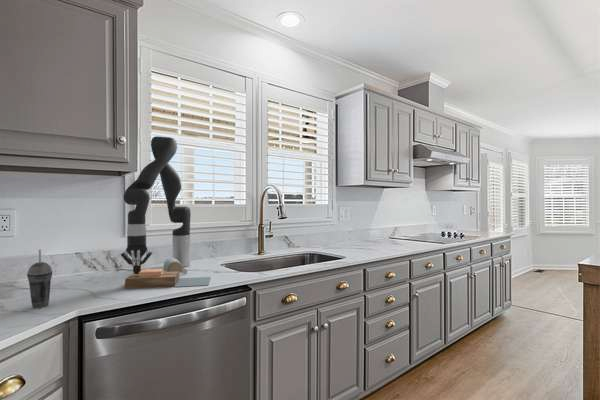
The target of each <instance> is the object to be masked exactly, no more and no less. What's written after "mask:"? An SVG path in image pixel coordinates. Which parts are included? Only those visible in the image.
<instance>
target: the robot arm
mask: <svg viewBox="0 0 600 400" xmlns="http://www.w3.org/2000/svg"><path fill="white" fill-rule="evenodd" d="M150 149H151V152H152V154H153V155H152V156H153V158H154V160H153V161H150V163H148V164H147V165H146V166H144V168H143V169H142V170H141V171H140V173H139V175H138V177H137V178H136V180H135V181H133V182H132V183H130V185H129V186H128V187H127V188H126V189H125V191H124V193H123V201H124V203H125V204H127V205H130V206H132V205H133V206H135V208H134V209H132V210H130V211H128V213H127V229H126V239H127V240H126V242H127V243H126V244H127V245H126V249H125V251H123V252H121V254H120V256H121V257H122V259H124V260H125V262H126V263H127V264H128V265H132V274H133V273H135V274H139V272H140V271H141V270H142V265H144V264H145V263H146V262H147V261H148V260H149V258H151V256H152V255H153V252H152V251H150V250H148V247H147V225H146V214H147V211H148V207H149V203H150V193H149V191H148V190H150V189H151V188H152V187H153V186H154V184H155V182H156V180H157V178H158V176H160V182H161V185H162V189H163V191H164V196H165V200H166V205H167V210H168V211H167V212H168V216H169V220H170V222H171V223H173V224H182V225H181V226H180V227H178V228H176V229H173V230H172V258H175V259H177V260H178V261H179V262H180V263H181V265H182V268H185V267H189V266H190V265H191V215H192V214H191V208H190V207H189V206H186V205H185V206H180V205H179V206H178V205H176V200H177V198H178V196H179V194H180V193H181V190H182V182H181V177H180V175H179V173H178V171H176V169H175V168H174V167H173V166H172V165H171V164H170V163H169V162H170V161H171V160H172V159H173V157H174V156H175V154H176V153H177V151H178V142H177V140H176V139H175V138H173V137H169V136H159V135H158V136H154V137H152V138H151V142H150ZM144 255H145V257H144ZM143 257H144V258H143ZM142 258H143V259H142Z"/></svg>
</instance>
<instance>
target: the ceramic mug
mask: <svg viewBox="0 0 600 400" xmlns="http://www.w3.org/2000/svg"><path fill="white" fill-rule="evenodd" d="M163 269H164V272H171V271H179V274H181V273H183V274H188V269H187V268H185V267H182V265H181V263H180V262H179V261H178V260H177V259H175V258H173V257H170V258H168V259H166V260H165V261H164V262H163Z"/></svg>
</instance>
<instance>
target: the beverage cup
mask: <svg viewBox="0 0 600 400" xmlns="http://www.w3.org/2000/svg"><path fill="white" fill-rule="evenodd" d="M41 254H42V250H41V249H38V262H35V263H34V264H32V265H31V266H30V267H29V268H28V270H27V275H26V276H27V280H28V285H29V292H30V293H29V294H30V302H31V306H32V307H33V308H38V309H43V308H42V307H44V308H47V307H49V304H50V303H49V302H50V294H51V284H52V283H51V282H52V277H53V269H52V267H51V265H50V264H48V263H47V262H44V261H43V262H42V255H41ZM46 306H47V307H46ZM32 307H31V308H32ZM33 308H32V309H33Z"/></svg>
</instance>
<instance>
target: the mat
mask: <svg viewBox="0 0 600 400" xmlns="http://www.w3.org/2000/svg"><path fill="white" fill-rule="evenodd" d="M210 282H211V276H199V277H182V278H181V277H179V280H178V282H177V283H176V285H175V286H173V287H174V288H186V287H187V288H189V287H204V286H205V287H207V286H209V284H210Z"/></svg>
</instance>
